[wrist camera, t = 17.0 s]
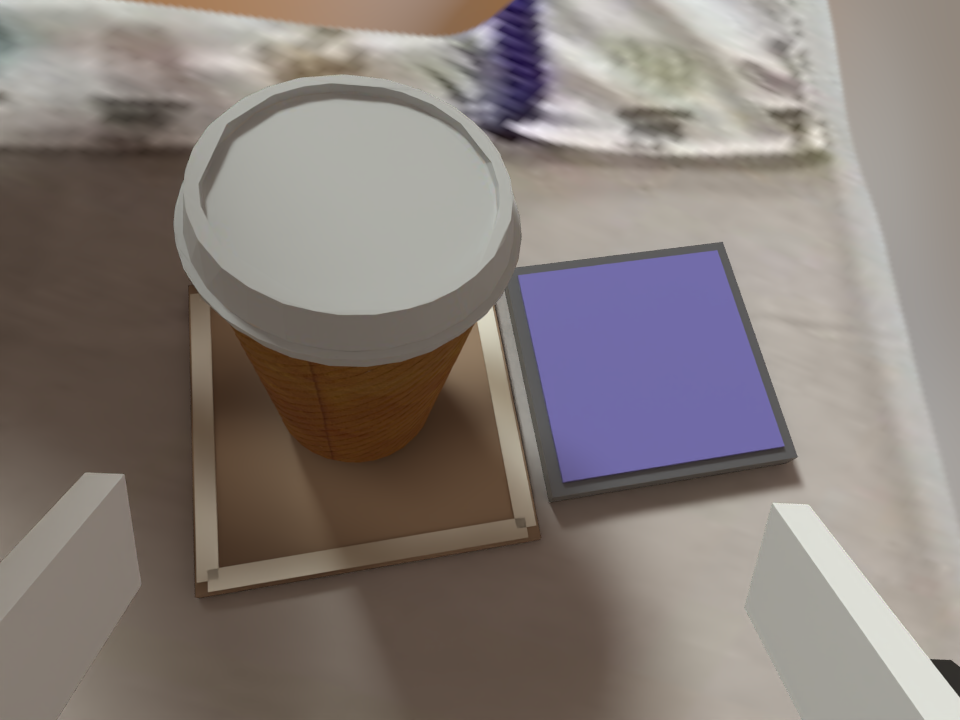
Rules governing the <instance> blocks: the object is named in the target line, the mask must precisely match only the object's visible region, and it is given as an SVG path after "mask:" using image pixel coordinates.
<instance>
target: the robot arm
mask: <svg viewBox="0 0 960 720" xmlns="http://www.w3.org/2000/svg"><path fill="white" fill-rule="evenodd" d="M141 585H142V584H141V578H140V571H139V565H138V558H137V552H136V545H135V539H134V532H133V526H132V519H131V513H130V506H129V500H128V493H127V487H126V480H125V474H110V473H88V472H85V473H84V474H83V475H82V476H81V477H80V478H79V480H78V481H77V482H76V483H75V484H74V485H73V486H72V487H71V488H70V489H69V490H68V491H67V492H66V493H65V494H64V495H63V496H62V498H61V499H60V500H59V501H58V502H57V503H56V504H55V505H54V506H53V507H52V508H51V509H50V510H49V511H48V512H47V513H46V515H45V516H44V517H43V518H42V519H41V520H40V521H39V522H38V523H37V524H36V525H35V526H34V527H33V528H32V529H31V530H30V532H29V533H28V534H27V535H26V536H25V537H24V538H23V539H22V540H21V541H20V542H19V543H18V544H17V545H16V546H15V547H14V549H13V550H12V551H11V552H10V553H9V554H8V555H7V556H6V557H5V558H4V559H3V560H2V561H1V562H0V720H57V719H58V717H59V715H60V714H61V712H62V711H63V709H64V707H65V706H66V704H67V703H68V701H69V699H70V698H71V696H72V695H73V693H74V691H75V690H76V688H77V687H78V685H79V684H80V682H81V680H82V679H83V677H84V676H85V674H86V672H87V671H88V669H89V668H90V666H91V664H92V663H93V661H94V660H95V658H96V656H97V655H98V653H99V652H100V650H101V649H102V647H103V645H104V644H105V642H106V641H107V639H108V637H109V636H110V634H111V633H112V631H113V629H114V628H115V626H116V625H117V623H118V621H119V620H120V618H121V617H122V615H123V613H124V612H125V610H126V609H127V607H128V606H129V604H130V602H131V601H132V599H133V598H134V596H135V594H136V593H137V591H138V590H139V588H140V586H141ZM744 608H745V610H746V612H747V614H748V616H749V618H750V620H751V622H752V624H753V626H754V628H755V630H756V632H757V633H758V635H759V637H760V639H761V641H762V643H763V645H764V647H765V649H766V651H767V653H768V655H769V657H770V659H771V661H772V663H773V665H774V667H775V668H776V670H777V672H778V674H779V676H780V678H781V680H782V682H783V684H784V686H785V688H786V690H787V692H788V694H789V696H790V698H791V700H792V701H793V703H794V705H795V707H796V709H797V711H798V713H799V715H800V717H801V719H802V720H960V667H959V666H958V665H957V664H955V663H954V662H953V661H951V660H936V659H929V658H928V657H927V655H926V654H925V653H924V651H923V650H922V649H921V648H920V646H919V645H918V644H917V642H916V641H915V640H914V639H913V637H912V636H911V635H910V634H909V632H908V631H907V630H906V628H905V627H904V626H903V625H902V623H901V622H900V621H899V619H898V618H897V617H896V616H895V614H894V613H893V612H892V611H891V609H890V608H889V607H888V605H887V604H886V603H885V602H884V600H883V599H882V598H881V596H880V595H879V594H878V593H877V591H876V590H875V589H874V588H873V586H872V585H871V584H870V582H869V581H868V580H867V579H866V577H865V576H864V575H863V573H862V572H861V571H860V570H859V568H858V567H857V566H856V565H855V563H854V562H853V561H852V559H851V558H850V557H849V556H848V554H847V553H846V552H845V551H844V549H843V548H842V547H841V545H840V544H839V543H838V542H837V540H836V539H835V538H834V536H833V535H832V534H831V533H830V531H829V530H828V529H827V528H826V526H825V525H824V524H823V522H822V521H821V520H820V519H819V517H818V516H817V515H816V513H815V512H814V511H813V510H812V508H811V507H810V506H809V505H807V504H785V503H772V506H771V509H770V513H769V517H768V521H767V524H766V528H765V532H764V536H763V539H762V543H761V547H760V551H759V554H758V558H757V562H756V566H755V569H754V573H753V577H752V581H751V584H750V588H749V592H748V596H747V599H746V603H745V607H744Z"/></svg>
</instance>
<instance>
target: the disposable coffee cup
mask: <svg viewBox="0 0 960 720" xmlns="http://www.w3.org/2000/svg"><path fill="white" fill-rule="evenodd" d="M173 225H174V234H175V243H176V247H177V250H178V253H179V256H180V260H181V263H182V266H183V269H184V271H185V272H186V274H187V276H188V278H189V279H190V281H191V282H192V283H193V285H194V286H195V288H196V289H197V291H198V292H199V294H200V295H201V297H202V298H203V300H204V301H205V302H206V303H207V304H208V305H209V306H210V307H211V308H212V309H214V310H215V311H216V312H217V313H218V314H219V315H220V316H221V317H222V318H224V319H225V320H226V321H227V322H228V323H229V324H230V326H231V327H232V329H233V330H234V332H235V335H236V337H237V338H238V340H239V341H240V343H241V346H242V347H243V349H244V350H245V352H246V355H247V356H248V358H249V360H250V362H251V363H252V365H253V367H254V369H255V371H256V373H257V374H258V376H259V378H260V381H261V382H262V384H263V386H264V387H265V389H266V391H267V393H268V395H269V396H270V398H271V400H272V402H273V403H274V405H275V407H276V409H277V411H278V412H279V415H280V416H281V418H282V421H283V423H284V424H285V426H286V428H287V429H288V431H289V433H290V434H291V435H292V436H293V437H294V438H295V439H296V440H297V441H298V442H299V443H300V444H301V445H302V446H304V447H305V448H307V449H308V450H310V451H311V452H313V453H315V454H317V455H320V456H322V457H324V458H327V459H332V460H337V461H342V462H354V463H360V462H367V461H373V460H377V459H380V458H383V457H386V456H389V455H391V454H393V453H395V452H396V451H398V450H400V449H402V448H403V447H404V446H405V445H407V444H408V443H409V442H410V441H411V440H412V439H413V438H414V437H415V436H416V435H417V434H418V433H419V431H420V430H421V429H422V428H423V426H424V424H425V422H426V420H427V418H428V416H429V413H430V411H431V409H432V407H433V405H434V403H435V401H436V399H437V397H438V395H439V393H440V391H441V389H442V388H443V386H444V384H445V382H446V380H447V378H448V376H449V373H450V371H451V369H452V367H453V365H454V364H455V362H456V360H457V358H458V356H459V354H460V352H461V350H462V348H463V346H464V344H465V342H466V340H467V338H468V336H469V334H470V332H471V330H472V328H473V326H474V324H475V323H476V322H477V321H479V320H480V319H481V318H483V317H484V316H485V315H486V314H487V313H488V311H489V310H490V309H491V308H492V307H493V305H494V304H495V303H496V302H497V301H498V299H499V298H500V297H501V296H502V294H503V292H504V290H505V288H506V287H507V285H508V283H509V281H510V279H511V277H512V275H513V273H514V270H515V267H516V265H517V262H518V259H519V251H520V244H521V223H520V215H519V211H518V208H517V205H516V202H515V199H514V195H513V192H512V188H511V180H510V177H509V174H508V172H507V170H506V167H505V165H504V163H503V160H502V158H501V156H500V153H499V152H498V150H497V149H496V147H495V146H494V145H493V143H492V142H491V140H490V139H489V138H488V136H487V135H486V134H485V133H484V132H483V131H482V130H481V129H480V128H479V127H478V126H477V125H476V124H475V123H474V122H473V121H472V120H470V119H469V118H468V117H467V116H465V115H464V114H463V113H461V112H460V111H459V110H458V109H456V108H455V107H454V106H452V105H450V104H448V103H446V102H444V101H442V100H440V99H438V98H436V97H435V96H433V95H431V94H429V93H427V92H425V91H423V90H420V89H416V88H413V87H410V86H407V85H403V84H400V83H397V82H394V81H390V80H387V79H380V78H371V77H362V76H353V75H344V74H342V75H330V76H317V77H305V78H298V79H294V80H291V81H287V82H284V83H280V84H276V85H273V86H269V87H266V88H264V89H262V90H260V91H258V92H256V93H253V94H251V95H249V96H247V97H245V98H243V99H241V100H240V101H239V102H237V103H236V104H235V105H233V106H232V107H231V108H230V109H228V110H227V111H226V112H224V113H223V114H222V115H221V116H220V117H218V118H217V119H216V120H215V121H213V122H212V123H211V124H210V125H209V126H208V127H207V128H206V130H205V131H204V133H203V134H202V136H201V137H200V139H199V140H198V142H197V143H196V145H195V146H194V147H193V149H192V152H191V155H190V158H189V161H188V164H187V167H186V169H185V176H184V181H183V183H182V185H181V189H180V192H179V195H178V199H177V202H176V206H175V213H174V223H173Z"/></svg>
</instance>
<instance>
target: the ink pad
mask: <svg viewBox="0 0 960 720" xmlns="http://www.w3.org/2000/svg"><path fill="white" fill-rule="evenodd" d="M505 294H506V298H507V303H508V308H509V313H510V318H511V322H512V327H513V332H514V337H515V341H516V346H517V351H518V356H519V361H520V365H521V370H522V375H523V380H524V384H525V389H526V394H527V399H528V404H529V408H530V413H531V418H532V423H533V427H534V432H535V437H536V442H537V447H538V451H539V456H540V461H541V466H542V470H543V475H544V480H545V485H546V490H547V494H548V499H549V502H554V501H560V500H566V499H572V498H578V497H584V496H590V495H596V494H602V493H608V492H614V491H621V490H627V489H633V488H639V487H645V486H651V485H657V484H663V483H669V482H675V481H681V480H687V479H693V478H699V477H705V476H711V475H717V474H723V473H729V472H735V471H741V470H747V469H753V468H759V467H765V466H771V465H777V464H784V463H787V462H789V461H791V460H793V459H795V458H797V454H796V451H795V448H794V445H793V442H792V439H791V437H790V434H789V431H788V428H787V425H786V422H785V419H784V416H783V414H782V411H781V408H780V405H779V402H778V399H777V396H776V393H775V391H774V388H773V385H772V382H771V379H770V376H769V373H768V371H767V368H766V365H765V362H764V359H763V356H762V353H761V350H760V348H759V345H758V342H757V339H756V336H755V333H754V330H753V328H752V325H751V322H750V319H749V316H748V313H747V310H746V307H745V305H744V302H743V299H742V296H741V293H740V290H739V287H738V285H737V282H736V279H735V276H734V273H733V270H732V267H731V264H730V262H729V259H728V256H727V253H726V250H725V247H724V244H723V242H719V243H711V244H703V245H694V246H686V247H678V248H670V249H662V250H654V251H646V252H638V253H630V254H622V255H614V256H606V257H598V258H590V259H582V260H574V261H566V262H558V263H550V264H542V265H534V266H526V267H518V268H515V270H514V273H513V275H512V277H511V279H510V281H509V283H508V285H507V287H506V288H505Z"/></svg>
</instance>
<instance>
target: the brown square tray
mask: <svg viewBox="0 0 960 720" xmlns="http://www.w3.org/2000/svg"><path fill="white" fill-rule="evenodd" d="M188 293H189V340H190V386H191V433H192V480H193V527H194V573H195V597H196V598H204V597H209V596H215V595H221V594H227V593H233V592H238V591H244V590H250V589H256V588H262V587H268V586H273V585H279V584H285V583H291V582H297V581H302V580H308V579H314V578H320V577H326V576H332V575H337V574H343V573H349V572H355V571H361V570H366V569H372V568H378V567H384V566H390V565H396V564H401V563H407V562H413V561H419V560H425V559H430V558H436V557H442V556H448V555H454V554H460V553H465V552H471V551H477V550H483V549H489V548H494V547H500V546H506V545H512V544H518V543H524V542H529V541H535V540H540V539H541V535H540V530H539V525H538V520H537V515H536V510H535V505H534V500H533V495H532V490H531V485H530V480H529V475H528V470H527V465H526V460H525V455H524V450H523V445H522V440H521V435H520V431H519V426H518V421H517V416H516V411H515V406H514V401H513V396H512V391H511V386H510V381H509V376H508V371H507V366H506V361H505V356H504V351H503V346H502V341H501V336H500V331H499V326H498V321H497V316H496V311H495V306H494V305H493V307H492V308H491V309H490V310H489V311H488V313H487V314H486V315H485V316H484V317H483V318H481V319H480V320H479V321H477V322H476V323H475V324H474V326H473V328H472V330H471V332H470V334H469V336H468V338H467V340H466V342H465V344H464V346H463V348H462V350H461V352H460V354H459V356H458V358H457V360H456V362H455V364H454V365H453V367H452V369H451V371H450V373H449V376H448V378H447V380H446V382H445V384H444V386H443V388H442V389H441V391H440V393H439V395H438V397H437V399H436V401H435V403H434V405H433V407H432V409H431V411H430V413H429V416H428V418H427V420H426V422H425V424H424V426H423V428H422V429H421V430H420V431H419V433H418V434H417V435H416V436H415V437H414V438H413V439H412V440H411V441H410V442H409V443H408V444H407V445H405V446H404V447H403V448H402V449H400V450H398V451H396V452H395V453H393V454H391V455H389V456H386V457H383V458H380V459H377V460H373V461H367V462H360V463H354V462H342V461H337V460H332V459H327V458H324V457H322V456H320V455H317V454H315V453H313V452H311V451H310V450H308V449H307V448H305V447H304V446H302V445H301V444H300V443H299V442H298V441H297V440H296V439H295V438H294V437H293V436H292V435H291V434H290V433H289V431H288V429H287V428H286V426H285V424H284V423H283V421H282V418H281V416H280V415H279V412H278V411H277V409H276V407H275V405H274V403H273V402H272V400H271V398H270V396H269V395H268V393H267V391H266V389H265V387H264V386H263V384H262V382H261V381H260V378H259V376H258V374H257V373H256V371H255V369H254V367H253V365H252V363H251V362H250V360H249V358H248V356H247V355H246V352H245V350H244V349H243V347H242V346H241V343H240V341H239V340H238V338H237V337H236V335H235V332H234V330H233V329H232V327H231V326H230V324H229V323H228V322H227V321H226V320H225V319H224V318H222V317H221V316H220V315H219V314H218V313H217V312H216V311H215V310H214V309H212V308H211V307H210V306H209V305H208V304H207V303H206V302H205V301H204V300H203V298H202V297H201V295H200V294H199V292H198V291H197V289H196V288H195V286H194V285H190V286H188Z"/></svg>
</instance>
